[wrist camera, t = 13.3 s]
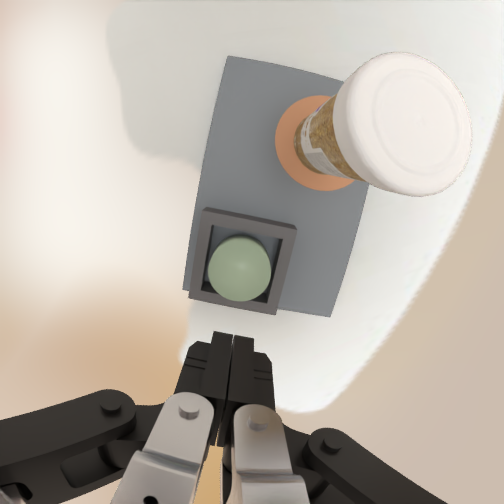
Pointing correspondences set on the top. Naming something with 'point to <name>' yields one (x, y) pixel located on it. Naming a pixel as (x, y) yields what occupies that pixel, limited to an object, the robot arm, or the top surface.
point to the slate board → (272, 191)
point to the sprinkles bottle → (391, 128)
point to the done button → (240, 268)
